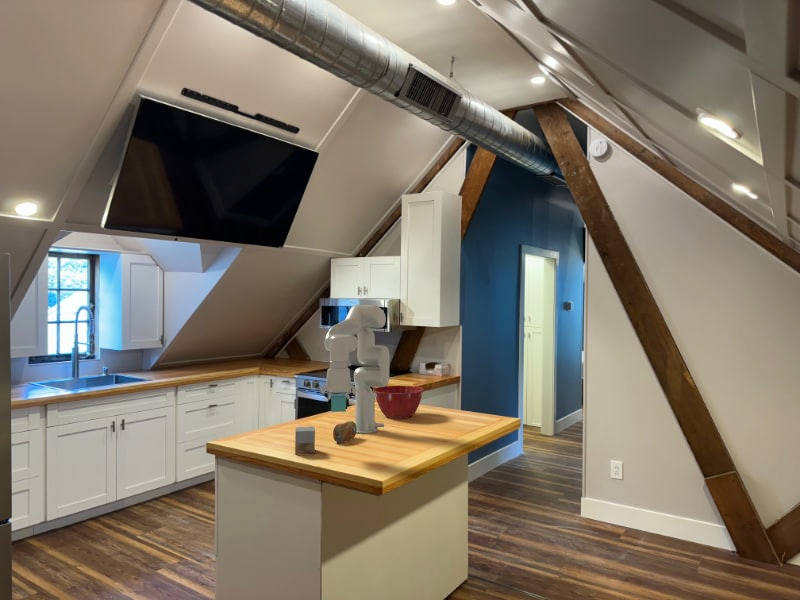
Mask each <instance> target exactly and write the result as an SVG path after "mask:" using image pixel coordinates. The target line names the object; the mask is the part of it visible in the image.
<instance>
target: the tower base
mask: <svg viewBox="0 0 800 600" xmlns="http://www.w3.org/2000/svg"><path fill="white" fill-rule="evenodd" d="M315 443H316V442H315ZM315 443H295V442H294V448H295V449H294V456H298V455H297V454H309V455H315V453H316V452H315V447H316V444H315Z"/></svg>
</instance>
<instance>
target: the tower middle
mask: <svg viewBox="0 0 800 600" xmlns="http://www.w3.org/2000/svg"><path fill="white" fill-rule="evenodd" d="M315 437H316V427H315V426H296V427H295V441H294V444H295V443H316V438H315Z"/></svg>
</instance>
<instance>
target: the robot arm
mask: <svg viewBox="0 0 800 600" xmlns="http://www.w3.org/2000/svg"><path fill="white" fill-rule="evenodd" d="M386 320H387V317H386V314H385V312H384V310H383V309H381V308H380V307H379V306H378V305H377V304H354V305H353V306H351V307H350V309H349V311H348V312H347V315H346V317H345V319H344V320H342V321H340V322H338V323H337V324H333V326H332V327H330V328H329V329H328V331H327V332H326V333H327V334H326V335H325V338H324V340H323V342H324V349H326V351H328V352H329V368H327V371H326V372H327V373H326V380H325V382H326V383H325V385H323V387H322V388H321V389H320V390H319V391H320V393H321V394H322V395H323V396H324V397H325V398H326V399H327V408H329V410H331V396H332V395H333V394H344V395H346V410H348V408H349V407H350V400H351V398H352V397H353V396H354V394H355V404H354V405H355V414H354V415H355V419H354V420H355V421H354V423H355V424H356V429H357V431H356V434H364V435H365V434H374V433H376V432H378V430H379V429H378V428H384V427H385V424H384V422H376V419H375V417H376V415H375V405H376V404H375V403H376V402H375V400H376V397H375V393H374V390H372V388H378V387H385V386H389V383H390V382H389V381H390V350H389V348H388V347H387V346H386V345H380V344H378V345H376V344H375V341H376V339H375V338H376V337H375V333H374V331H373V329H376V328H377V329H380V328H383V327H384V326H385V325H386ZM355 335H356V336H357V337H356V336H355ZM356 350H357V352H356V357H357V358H356V359H357V362H358V363H359V364H363V365H374V366H373V367H372V366H362V367H357V368H355V370H354V372H353V381H354V385H353V384H352V383H351V381H352V380H351V371H350V368H349V367H351V366H352V362H349V360H348V358H349V355H348V354H349V353H353V352H355V351H356ZM375 365H376V366H377V365H378V366H379V367H375ZM325 390H326V391H325Z"/></svg>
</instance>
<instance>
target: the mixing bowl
mask: <svg viewBox="0 0 800 600" xmlns="http://www.w3.org/2000/svg"><path fill="white" fill-rule="evenodd" d="M423 392H424V387H421V386H415V385H414V386H413V385H387V386H385V387H374V388H373V393H374V396H375V400H376V403H377V404H378V407H379V409H380V411H381V413H382V414H383V415H385V417H387V418H389V417H391V418H390V419H395V418H402V419H408V418H407V417H409V418H410V416H411V417H412V416H413V415H414V414H415V413H416V412H417V411H418V408H419V405H420V404H421V401H422V396H423Z"/></svg>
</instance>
